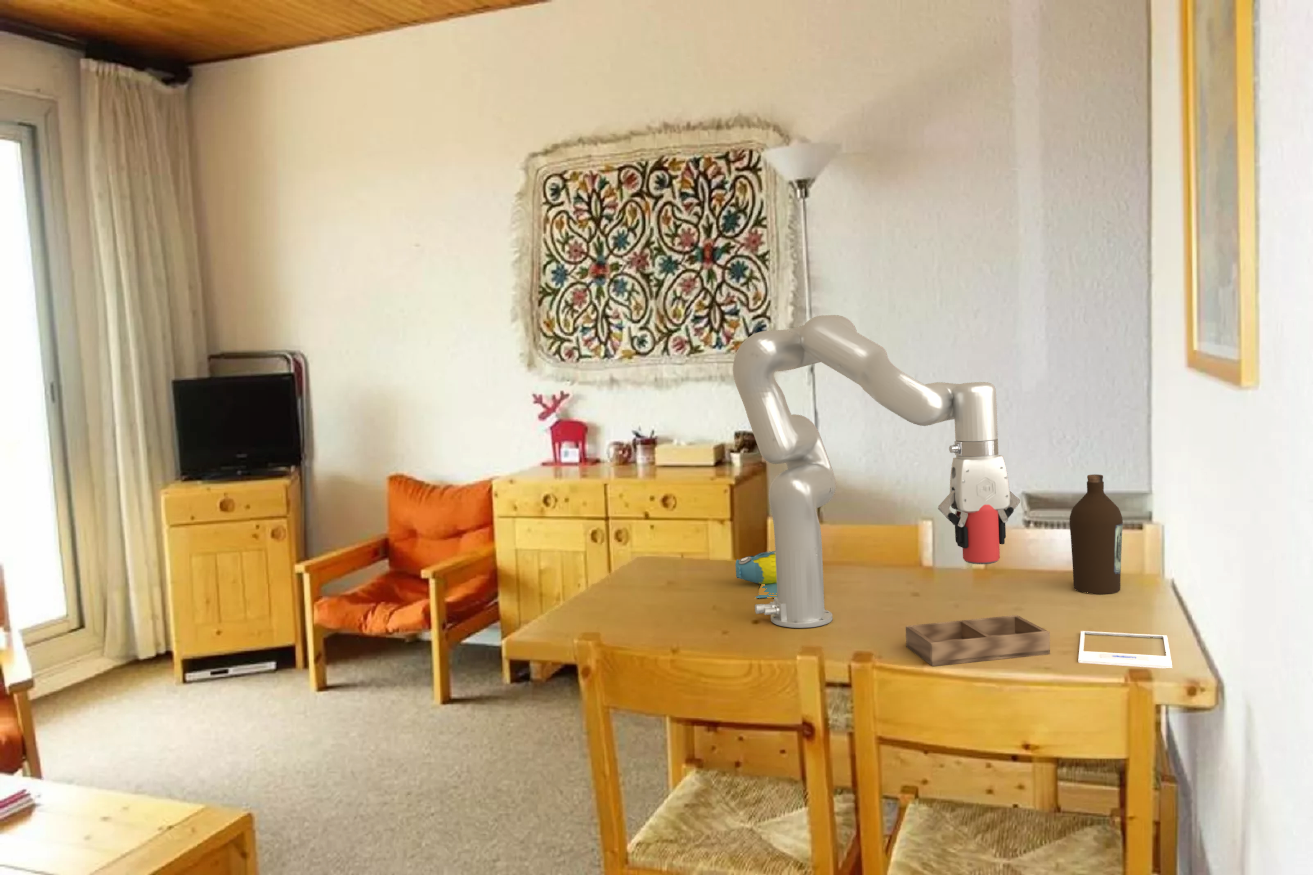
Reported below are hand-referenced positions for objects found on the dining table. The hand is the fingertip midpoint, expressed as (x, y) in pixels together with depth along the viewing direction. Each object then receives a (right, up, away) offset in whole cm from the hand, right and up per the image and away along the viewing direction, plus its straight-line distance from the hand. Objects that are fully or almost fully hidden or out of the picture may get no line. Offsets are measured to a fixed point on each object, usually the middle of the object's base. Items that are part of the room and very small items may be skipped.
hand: (980, 544), depth 198 cm
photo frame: (+23, -19, -9) cm, 31 cm away
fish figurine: (-34, -16, +54) cm, 66 cm away
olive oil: (+35, -13, +33) cm, 51 cm away
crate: (-2, -19, -4) cm, 20 cm away
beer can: (0, -3, 0) cm, 3 cm away
